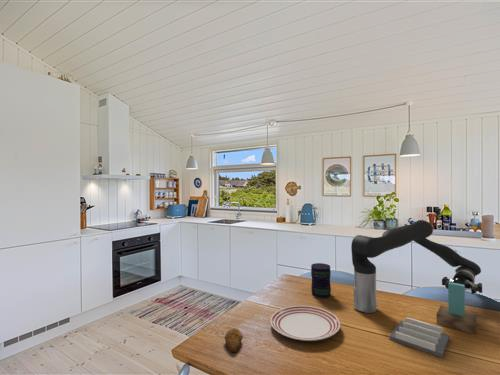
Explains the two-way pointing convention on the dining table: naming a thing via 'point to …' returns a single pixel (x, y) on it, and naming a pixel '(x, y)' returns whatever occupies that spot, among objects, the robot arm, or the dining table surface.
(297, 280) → the dining table surface
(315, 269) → the storage jar
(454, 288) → the block
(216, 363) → the dining table surface
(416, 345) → the slotted rack
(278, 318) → the dinner plate
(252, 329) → the dining table surface
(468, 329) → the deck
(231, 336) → the brown oval lump
